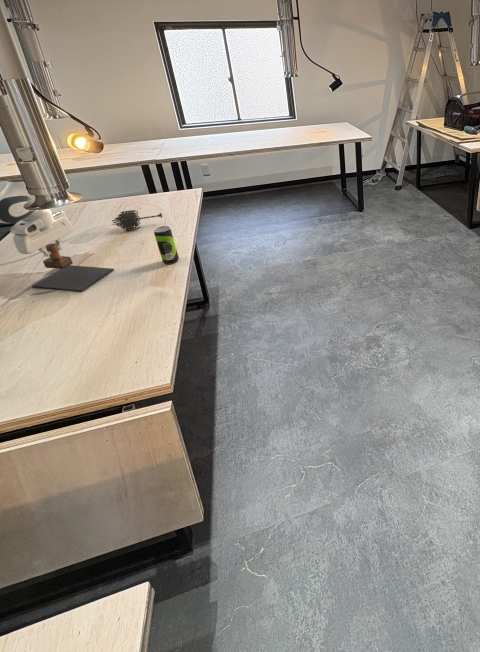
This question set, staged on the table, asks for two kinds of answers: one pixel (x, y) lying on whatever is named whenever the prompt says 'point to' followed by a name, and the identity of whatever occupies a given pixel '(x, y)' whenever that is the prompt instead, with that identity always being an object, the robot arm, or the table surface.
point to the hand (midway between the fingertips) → (53, 253)
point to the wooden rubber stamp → (56, 258)
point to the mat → (73, 278)
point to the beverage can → (166, 244)
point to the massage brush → (130, 219)
